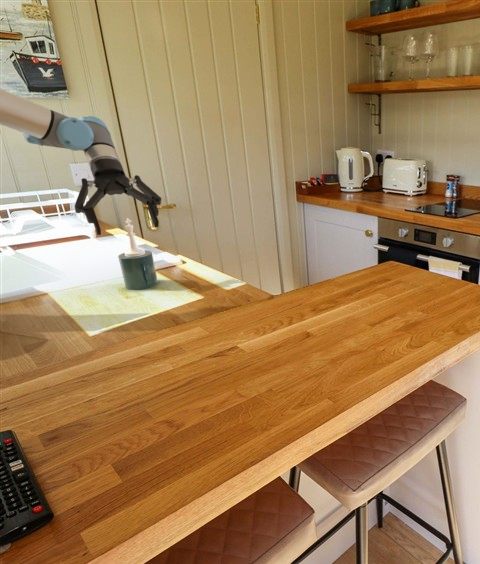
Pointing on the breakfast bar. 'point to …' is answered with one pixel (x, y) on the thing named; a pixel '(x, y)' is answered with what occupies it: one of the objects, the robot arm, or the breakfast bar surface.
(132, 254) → the chess piece
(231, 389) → the breakfast bar surface
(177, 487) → the breakfast bar surface
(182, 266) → the breakfast bar surface
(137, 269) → the cup
